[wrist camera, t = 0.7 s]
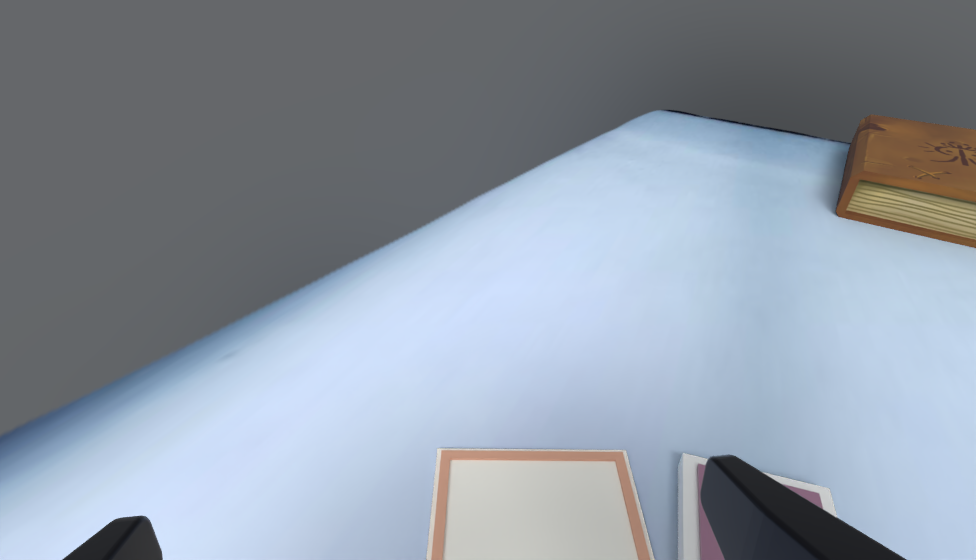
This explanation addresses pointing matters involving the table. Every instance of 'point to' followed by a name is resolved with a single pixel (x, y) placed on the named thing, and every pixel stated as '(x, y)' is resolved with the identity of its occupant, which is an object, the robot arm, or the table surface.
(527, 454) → the marked card
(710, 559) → the ink pad
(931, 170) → the diary
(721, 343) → the table surface
